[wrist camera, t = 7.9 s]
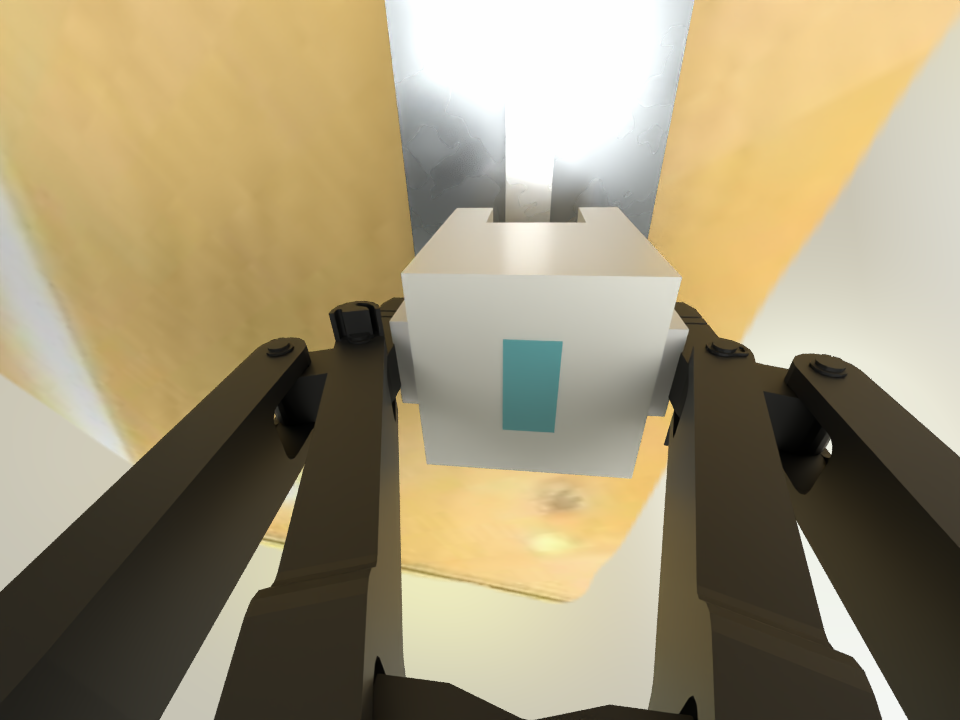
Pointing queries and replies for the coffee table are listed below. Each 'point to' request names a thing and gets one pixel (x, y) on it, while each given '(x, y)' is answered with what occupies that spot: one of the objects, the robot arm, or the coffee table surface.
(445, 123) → the rail plate
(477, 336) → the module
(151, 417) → the coffee table surface
